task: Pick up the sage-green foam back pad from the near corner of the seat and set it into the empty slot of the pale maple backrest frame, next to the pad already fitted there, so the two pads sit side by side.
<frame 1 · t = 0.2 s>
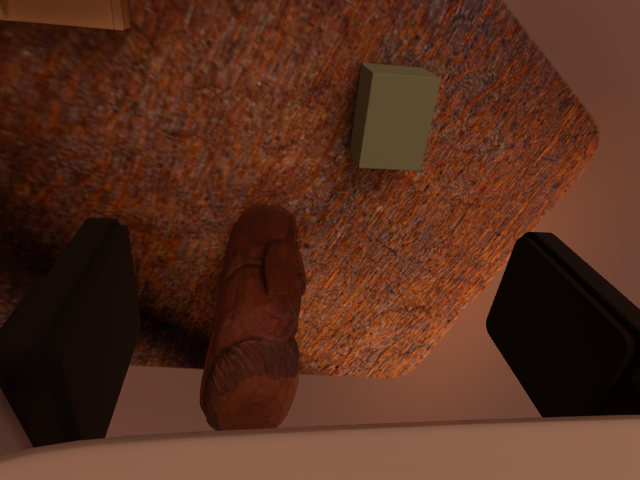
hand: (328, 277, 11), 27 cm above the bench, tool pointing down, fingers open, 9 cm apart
wooden figurine: (256, 252, 42), on the bench
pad: (385, 110, 36), on the bench
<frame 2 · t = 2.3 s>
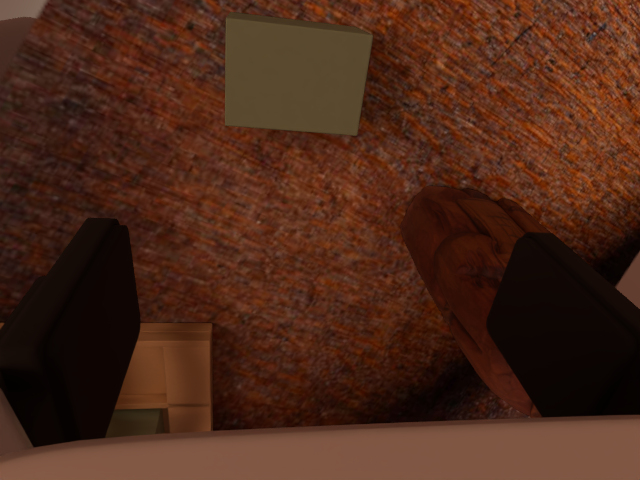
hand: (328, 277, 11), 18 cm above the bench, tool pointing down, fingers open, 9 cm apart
wooden figurine: (466, 227, 33), on the bench
frame: (118, 387, 36), on the bench
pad: (291, 67, 25), on the bench
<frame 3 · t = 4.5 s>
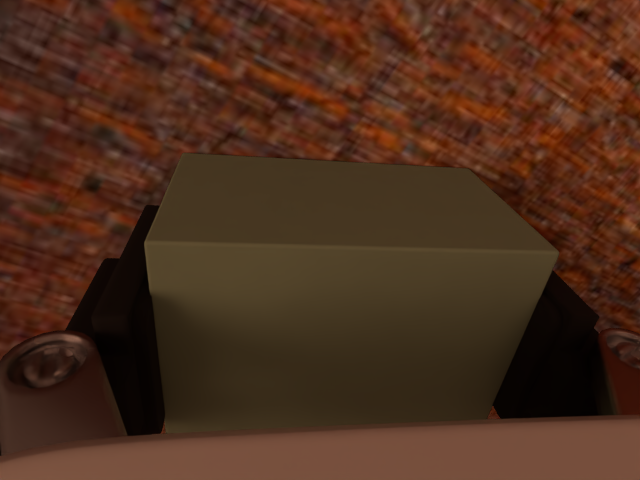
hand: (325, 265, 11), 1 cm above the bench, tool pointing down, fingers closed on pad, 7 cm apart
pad: (322, 248, 12), on the bench, touching gripper
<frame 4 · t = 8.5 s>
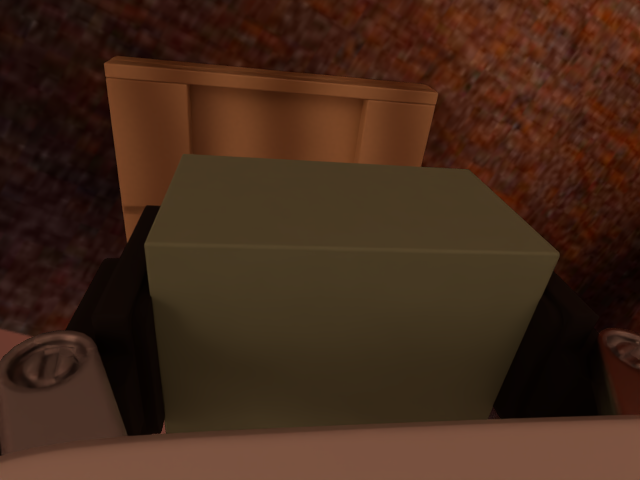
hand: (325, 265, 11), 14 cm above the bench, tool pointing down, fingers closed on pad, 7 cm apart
frame: (271, 198, 25), on the bench
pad: (322, 249, 12), point 13 cm above the bench, touching gripper
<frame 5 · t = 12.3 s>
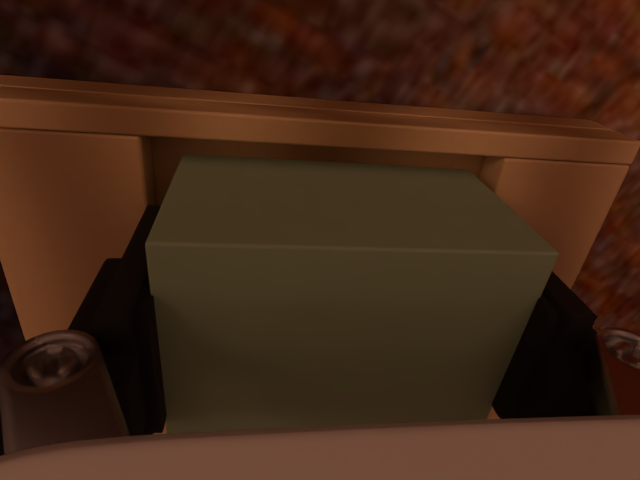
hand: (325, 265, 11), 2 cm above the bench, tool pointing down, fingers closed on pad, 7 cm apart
frame: (303, 311, 15), on the bench
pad: (322, 249, 12), point 1 cm above the bench, touching gripper
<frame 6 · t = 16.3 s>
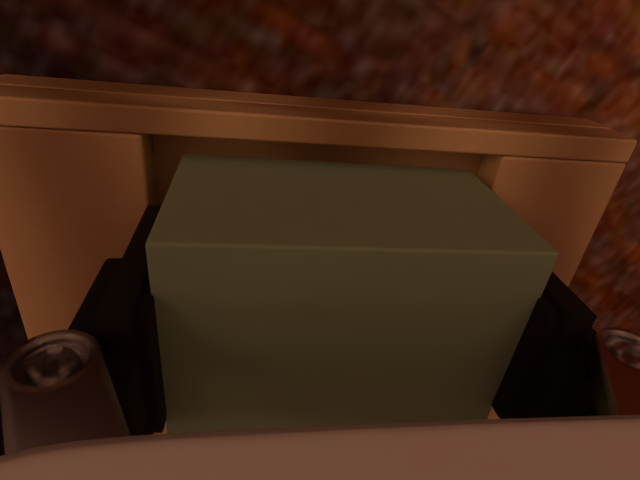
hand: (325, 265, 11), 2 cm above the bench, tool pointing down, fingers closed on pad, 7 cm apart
frame: (303, 308, 15), on the bench
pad: (322, 249, 12), point 1 cm above the bench, touching gripper
when the fingers open (3 cm above the bench, at t = 20.0 s): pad drops 1 cm, resting on frame.
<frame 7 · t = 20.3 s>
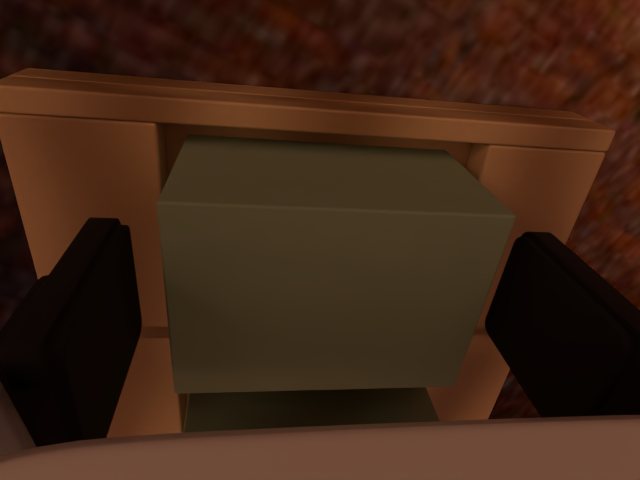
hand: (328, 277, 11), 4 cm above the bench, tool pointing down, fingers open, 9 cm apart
frame: (304, 292, 16), on the bench
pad: (313, 224, 13), point 1 cm above the bench, touching frame
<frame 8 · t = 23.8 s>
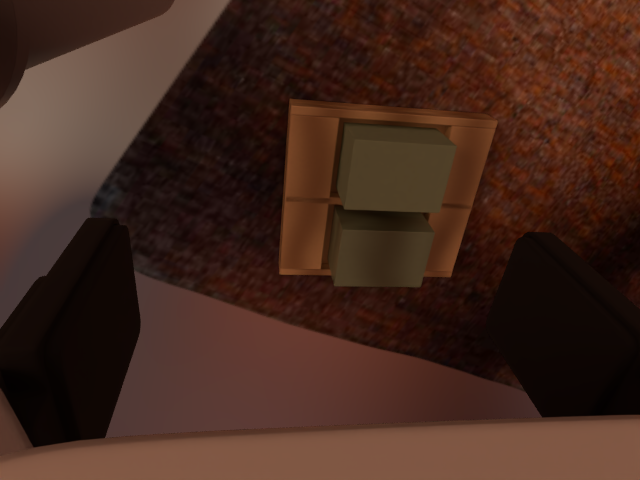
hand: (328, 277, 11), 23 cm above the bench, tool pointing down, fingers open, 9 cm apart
frame: (375, 192, 36), on the bench
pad: (385, 157, 33), point 1 cm above the bench, touching frame
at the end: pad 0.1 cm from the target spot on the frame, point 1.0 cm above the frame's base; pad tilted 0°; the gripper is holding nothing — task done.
